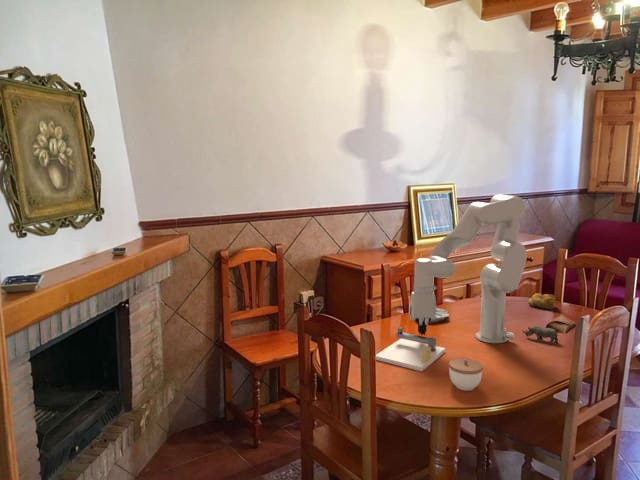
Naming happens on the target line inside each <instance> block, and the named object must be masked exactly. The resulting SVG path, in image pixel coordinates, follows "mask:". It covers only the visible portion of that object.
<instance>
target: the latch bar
mask: <svg viewBox="0 0 640 480" xmlns="http://www.w3.org/2000/svg"><path fill="white" fill-rule="evenodd" d="M403 330H404V329H403V327H401V326H399V327H397V332H396V336H395V337H396V338H398V339H405V340H410V341H415V342H419V343H424V344H428V347H431V351H435V350H436V346H437V338H436V337H431V336H430V337H427V336H423V335H418V334H412V333H409V332H408V333H407V332H404V331H403Z"/></svg>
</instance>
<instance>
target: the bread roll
mask: <svg viewBox="0 0 640 480" xmlns="http://www.w3.org/2000/svg"><path fill="white" fill-rule="evenodd" d="M527 303H528V305H529V306H531V307H532V308H539V309H541V310H542V309H543V310H552V309H554V308H555V306H556V296H555V295H553V294H551V293H550V294H549V293H547V294H542V293H539V292H538V293H536V292H535V294H533V295H532V297H530V299H528V301H527Z"/></svg>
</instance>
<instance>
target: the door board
mask: <svg viewBox="0 0 640 480" xmlns="http://www.w3.org/2000/svg"><path fill="white" fill-rule="evenodd" d="M444 353H446V348H445V347H441V346H437V345H436V350H435V351H431V347H428V344H426V343H421V342H417V341H412V340H407V339H403V338H398V340H397V341H395V342H393V343H392V344H391V345H389V346H387V347H385V348H384V349H383V350H381V351H380V352H379V353H376V361H380V362H384V363H387V364H391V365H396V366H399V367H403V368H406V369H407V368H408V369H410V370H413V371H414V370H415V371H419V372H423V371H424V370H426V369H427V368H428V367H429V366H430V365H432V364H433V363H434V362H436V360H438V358H440V357H441V356H442V355H444Z"/></svg>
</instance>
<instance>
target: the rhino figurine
mask: <svg viewBox="0 0 640 480" xmlns="http://www.w3.org/2000/svg"><path fill="white" fill-rule="evenodd" d="M527 329H528V330H527ZM527 329H526V330H525V331H524V330H522V332H523V333H524V335H525V336H526V337H531V336H533V335H536V338H537V339H536V340H535V341H536V342H540V341H543V340H544V338H545V339H547V338H549V339H550V341H548V344H549V345H553V344H559V342H558V340H559V338H558V332H556V330H554V329H551V328H546V327H542V326H540V325H535V326H532V327H531V325H530V326H528V327H527Z"/></svg>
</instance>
